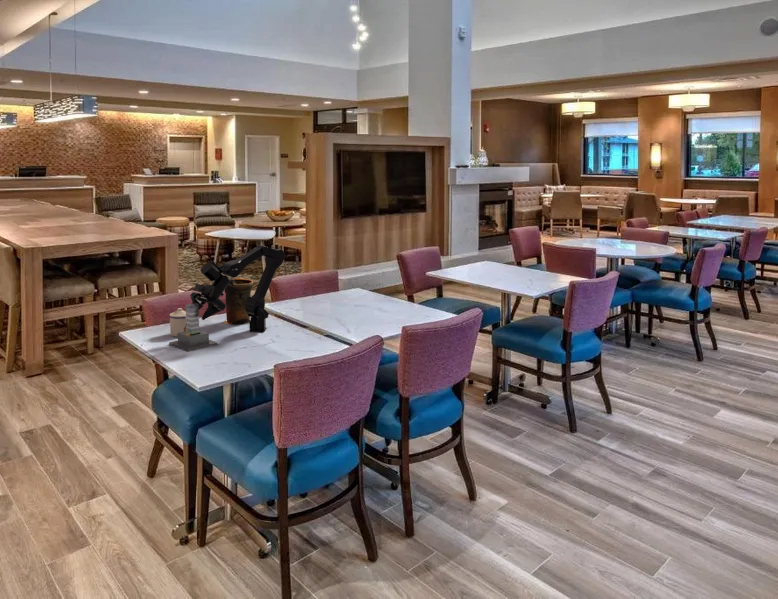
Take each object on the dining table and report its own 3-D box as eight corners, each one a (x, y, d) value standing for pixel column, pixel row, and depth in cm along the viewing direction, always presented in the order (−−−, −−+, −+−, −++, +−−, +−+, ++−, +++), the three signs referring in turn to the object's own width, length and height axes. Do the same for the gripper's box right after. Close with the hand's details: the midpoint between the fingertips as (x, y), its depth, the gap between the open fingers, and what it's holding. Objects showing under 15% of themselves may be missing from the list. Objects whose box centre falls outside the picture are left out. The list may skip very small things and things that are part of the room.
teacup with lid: (188, 337, 273) (187, 311, 270) (167, 336, 272) (165, 310, 270) (196, 330, 284) (195, 305, 282) (176, 329, 284) (174, 304, 282)
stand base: (198, 338, 271) (198, 324, 270) (217, 344, 262) (217, 331, 261) (169, 344, 261) (168, 330, 259) (187, 351, 252) (187, 337, 251)
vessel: (245, 316, 312) (245, 276, 307) (259, 323, 301) (258, 282, 296) (218, 320, 303) (217, 279, 298) (230, 327, 292) (230, 285, 287)
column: (195, 330, 263) (194, 302, 261) (200, 332, 261) (199, 304, 258) (185, 332, 260) (184, 304, 257) (190, 334, 257) (189, 306, 255)
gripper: (192, 273, 267) (170, 302, 261) (218, 279, 255) (195, 310, 249) (209, 288, 274) (188, 317, 268) (235, 295, 262) (213, 325, 256)
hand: (196, 317), depth 260 cm, fingers open, 9 cm apart
